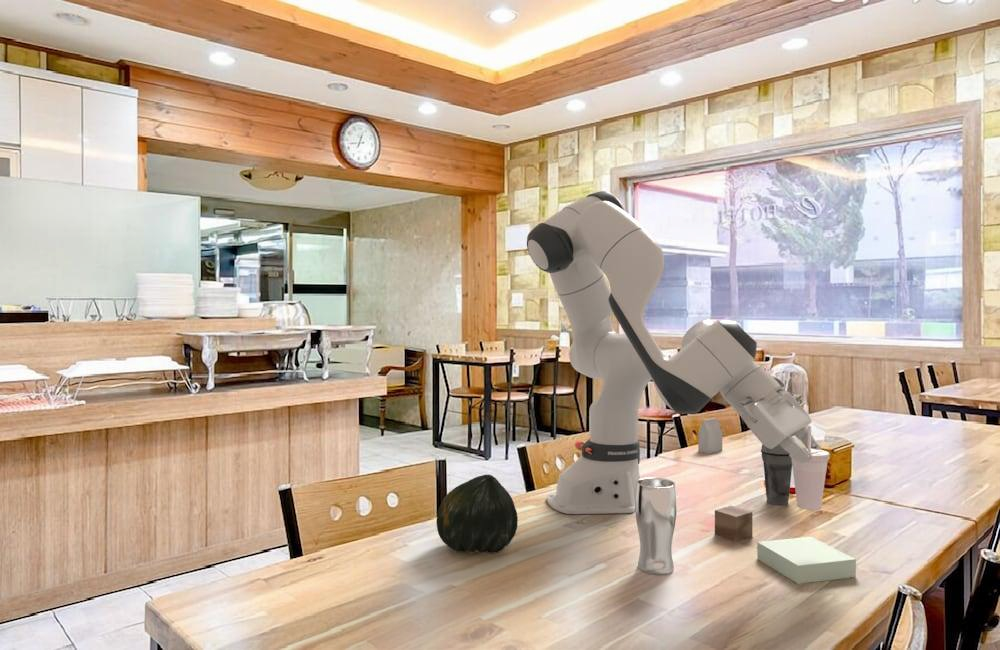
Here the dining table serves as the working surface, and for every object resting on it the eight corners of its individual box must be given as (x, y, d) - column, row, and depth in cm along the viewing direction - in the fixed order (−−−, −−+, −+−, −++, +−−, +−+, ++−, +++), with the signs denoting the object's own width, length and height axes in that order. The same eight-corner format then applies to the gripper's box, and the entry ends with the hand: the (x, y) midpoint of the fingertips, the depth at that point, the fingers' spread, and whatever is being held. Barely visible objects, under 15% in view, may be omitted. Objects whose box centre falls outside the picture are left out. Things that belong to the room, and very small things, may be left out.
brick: (736, 542, 127) (736, 516, 126) (714, 535, 131) (714, 510, 131) (752, 537, 129) (752, 512, 129) (731, 530, 134) (731, 505, 133)
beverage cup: (798, 507, 147) (798, 418, 147) (763, 506, 149) (763, 417, 148) (790, 498, 154) (791, 413, 154) (757, 496, 156) (758, 412, 155)
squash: (424, 509, 131) (442, 464, 121) (494, 503, 137) (516, 459, 127) (440, 577, 121) (460, 533, 112) (514, 566, 127) (539, 524, 118)
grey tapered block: (722, 450, 205) (722, 418, 204) (708, 453, 201) (708, 421, 200) (712, 448, 208) (712, 417, 207) (698, 451, 204) (698, 419, 203)
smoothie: (828, 504, 116) (829, 424, 116) (830, 514, 110) (831, 431, 110) (789, 500, 118) (789, 422, 118) (788, 510, 113) (788, 428, 112)
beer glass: (653, 579, 110) (653, 490, 109) (627, 565, 116) (626, 480, 115) (685, 571, 113) (685, 484, 112) (657, 557, 119) (657, 475, 119)
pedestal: (798, 583, 108) (798, 565, 107) (757, 558, 118) (757, 542, 118) (855, 577, 110) (855, 559, 110) (810, 552, 121) (810, 536, 121)
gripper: (749, 389, 110) (812, 456, 104) (783, 378, 126) (839, 435, 120) (722, 413, 113) (782, 479, 107) (758, 400, 129) (812, 456, 123)
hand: (812, 456), depth 114 cm, fingers closed on smoothie, 6 cm apart
